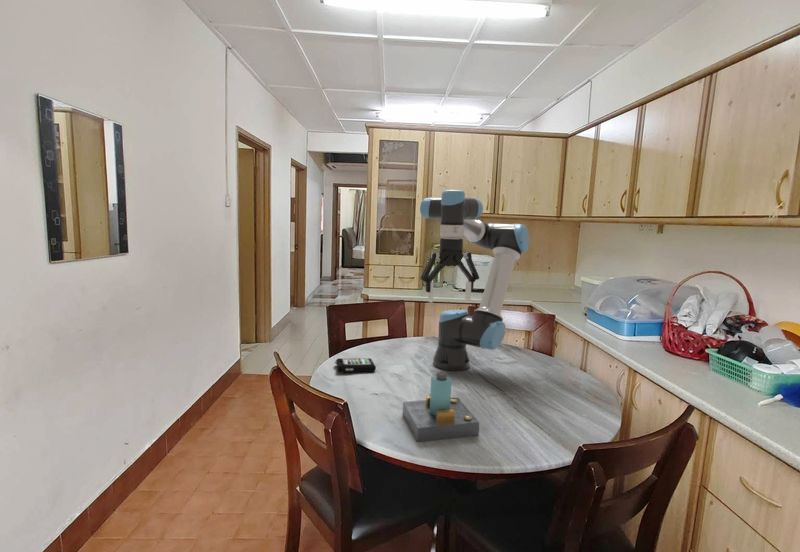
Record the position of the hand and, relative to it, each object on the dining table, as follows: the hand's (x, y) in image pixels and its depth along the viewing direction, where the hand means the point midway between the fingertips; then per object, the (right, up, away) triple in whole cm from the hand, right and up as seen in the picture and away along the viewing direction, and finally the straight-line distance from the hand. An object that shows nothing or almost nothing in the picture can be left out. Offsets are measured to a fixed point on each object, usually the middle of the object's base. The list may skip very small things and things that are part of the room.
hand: (449, 301), depth 136 cm
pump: (-5, -31, -18) cm, 36 cm away
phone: (-35, -29, +25) cm, 52 cm away
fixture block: (-5, -35, -17) cm, 40 cm away
